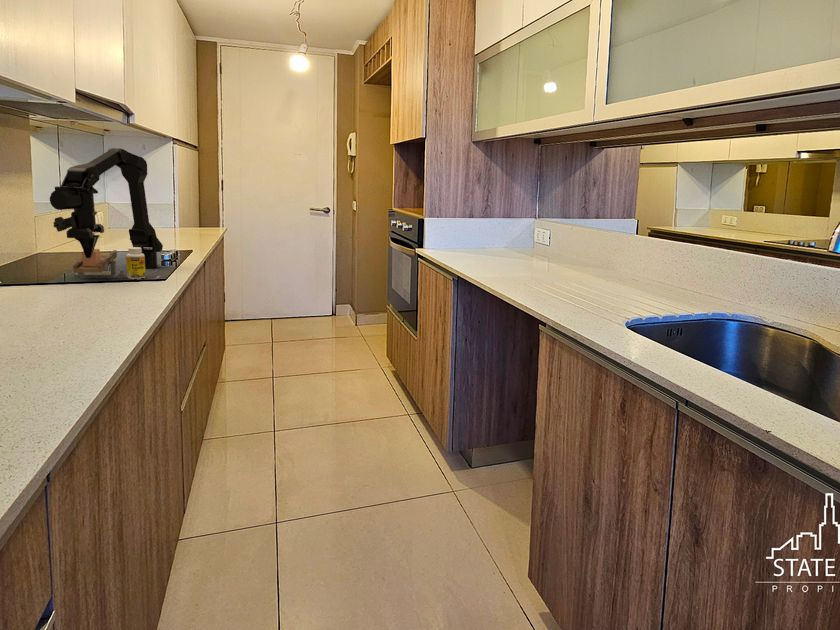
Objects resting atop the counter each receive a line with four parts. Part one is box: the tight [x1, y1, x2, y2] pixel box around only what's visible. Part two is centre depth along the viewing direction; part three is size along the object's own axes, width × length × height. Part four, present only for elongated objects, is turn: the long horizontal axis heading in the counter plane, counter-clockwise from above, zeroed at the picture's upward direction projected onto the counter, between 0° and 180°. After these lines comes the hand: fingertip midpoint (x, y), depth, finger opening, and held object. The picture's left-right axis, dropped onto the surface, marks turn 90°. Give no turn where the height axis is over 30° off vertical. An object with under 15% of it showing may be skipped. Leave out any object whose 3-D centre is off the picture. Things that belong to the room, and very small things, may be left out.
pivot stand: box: [73, 259, 121, 279], centre depth 197 cm, size 8×12×5 cm, turn 105°
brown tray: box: [72, 249, 118, 273], centre depth 196 cm, size 22×8×2 cm, turn 15°
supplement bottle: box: [125, 246, 147, 280], centre depth 195 cm, size 6×6×10 cm
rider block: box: [81, 248, 101, 266], centre depth 191 cm, size 5×4×4 cm
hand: (88, 258), depth 187 cm, fingers closed
